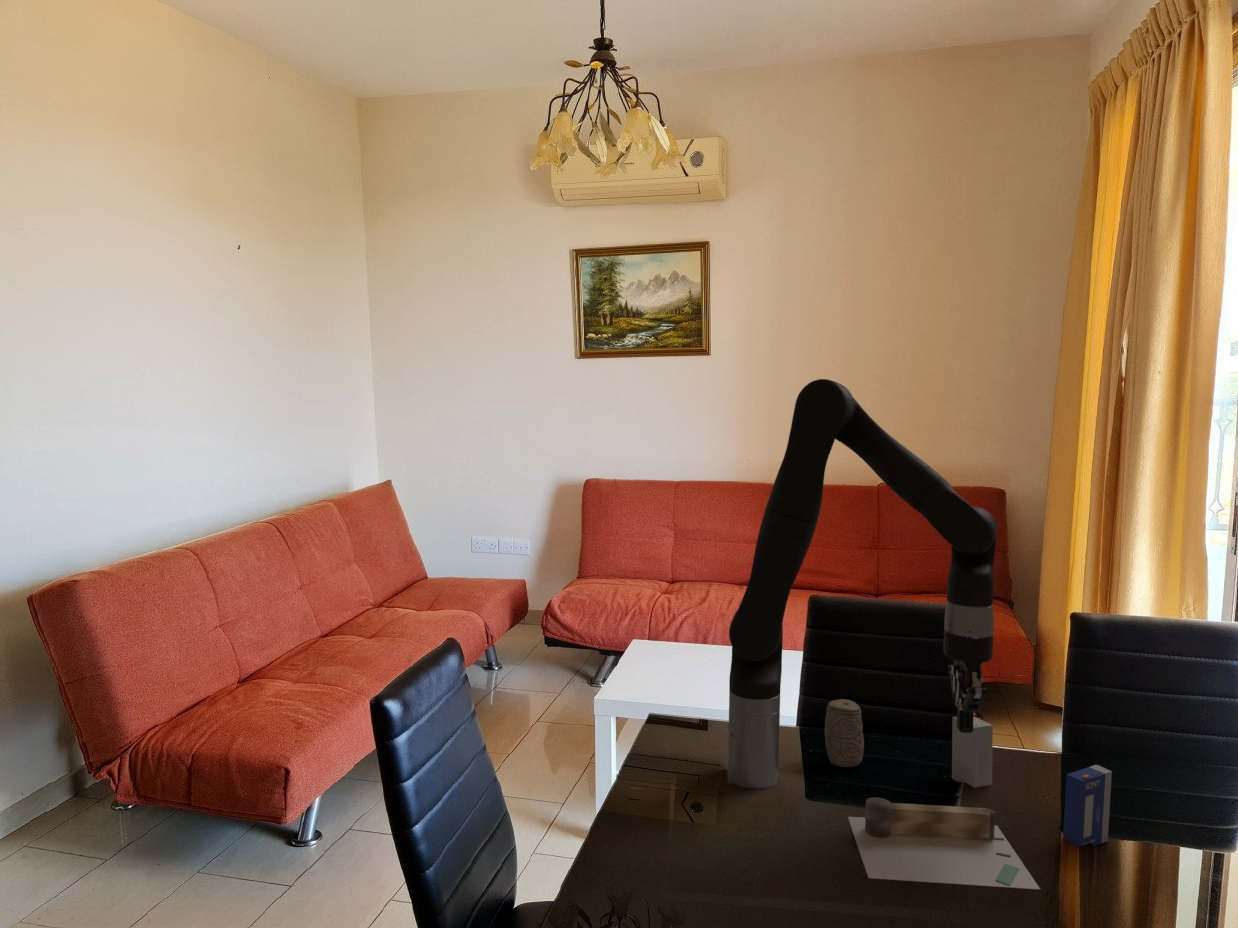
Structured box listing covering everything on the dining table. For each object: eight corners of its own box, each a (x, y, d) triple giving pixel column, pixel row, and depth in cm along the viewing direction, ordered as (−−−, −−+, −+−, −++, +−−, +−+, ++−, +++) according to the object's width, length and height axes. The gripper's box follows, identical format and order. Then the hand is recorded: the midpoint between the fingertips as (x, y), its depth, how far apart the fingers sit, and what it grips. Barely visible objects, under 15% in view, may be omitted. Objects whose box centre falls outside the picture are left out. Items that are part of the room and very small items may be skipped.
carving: (830, 753, 167) (832, 694, 166) (868, 762, 163) (870, 702, 162) (818, 764, 162) (820, 703, 161) (856, 774, 158) (858, 712, 157)
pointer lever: (867, 835, 133) (868, 808, 133) (862, 822, 137) (863, 796, 137) (998, 843, 131) (999, 815, 131) (989, 830, 135) (990, 803, 135)
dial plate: (868, 884, 122) (868, 876, 122) (847, 822, 140) (847, 815, 140) (1040, 895, 120) (1040, 887, 120) (996, 830, 138) (997, 824, 138)
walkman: (1078, 852, 131) (1083, 779, 130) (1062, 844, 134) (1066, 771, 133) (1109, 840, 135) (1113, 768, 134) (1092, 832, 137) (1096, 762, 136)
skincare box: (992, 789, 152) (996, 725, 151) (973, 793, 151) (976, 728, 150) (968, 775, 158) (970, 712, 157) (949, 778, 156) (951, 715, 155)
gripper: (934, 617, 145) (930, 714, 146) (957, 639, 132) (953, 746, 133) (979, 619, 144) (975, 716, 146) (1006, 641, 131) (1002, 748, 132)
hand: (964, 730), depth 139 cm, fingers closed
